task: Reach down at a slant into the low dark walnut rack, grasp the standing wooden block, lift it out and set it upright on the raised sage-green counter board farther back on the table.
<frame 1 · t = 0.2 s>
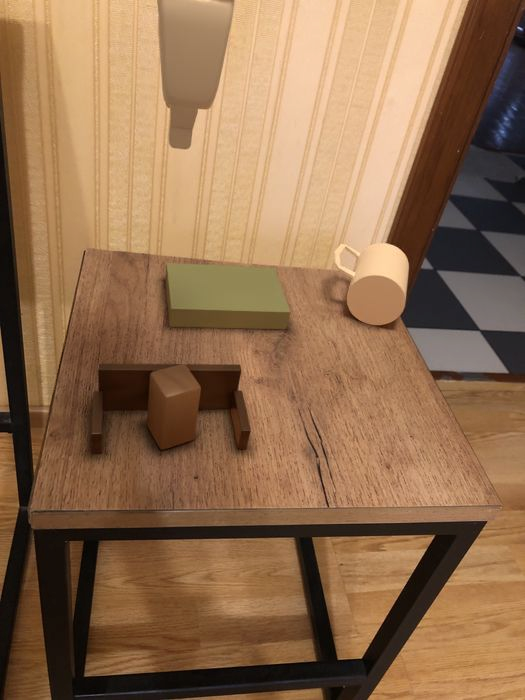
hand: (176, 124, 52), 29 cm above the table, tool pointing down, fingers open, 8 cm apart
counter board: (224, 304, 82), on the table
cup: (364, 294, 82), point 5 cm above the table
wooden block: (170, 434, 62), on the table
walnut rack: (170, 433, 62), on the table
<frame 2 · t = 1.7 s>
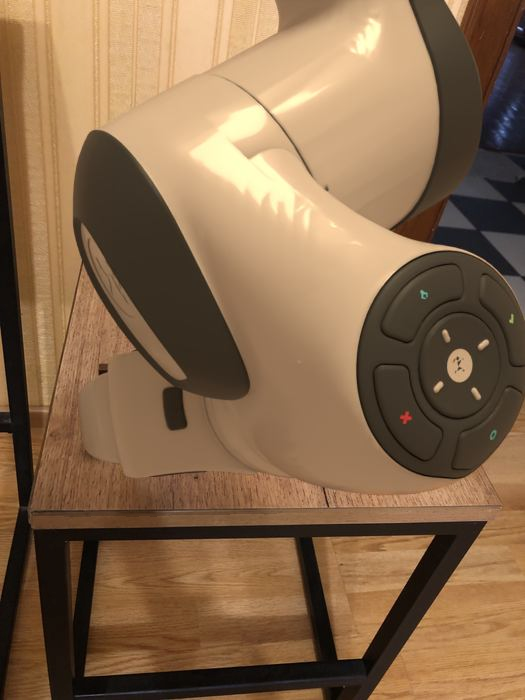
hand: (212, 401, 45), 16 cm above the table, tool tilted 45°, fingers open, 8 cm apart
nothing on the table moved.
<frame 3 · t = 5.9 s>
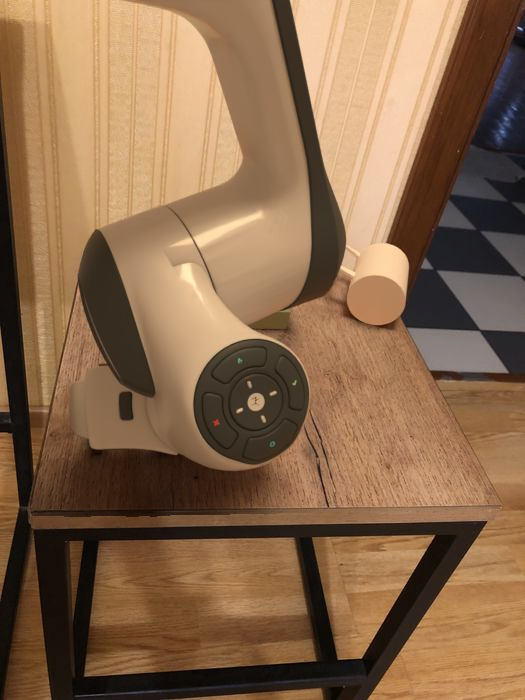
hand: (171, 400, 60), 4 cm above the table, tool tilted 45°, fingers closed on wooden block, 4 cm apart
wooden block: (170, 434, 62), on the table, touching gripper
everything else where it was.
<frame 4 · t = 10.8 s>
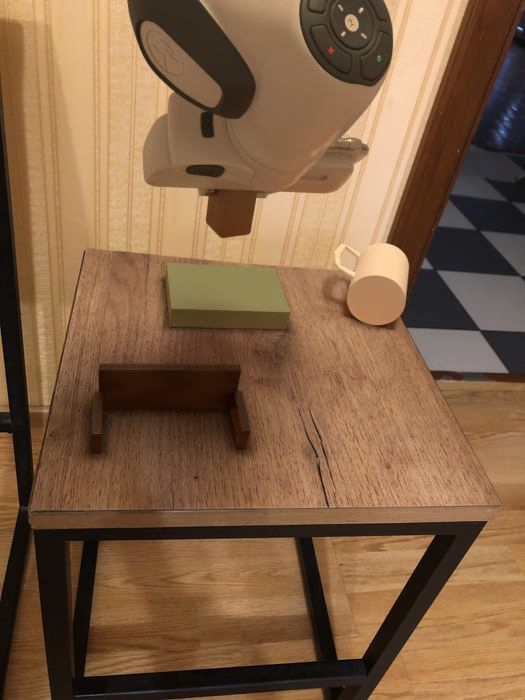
hand: (231, 190, 63), 20 cm above the table, tool tilted 45°, fingers closed on wooden block, 4 cm apart
wooden block: (227, 230, 66), point 16 cm above the table, touching gripper
everything else where it was.
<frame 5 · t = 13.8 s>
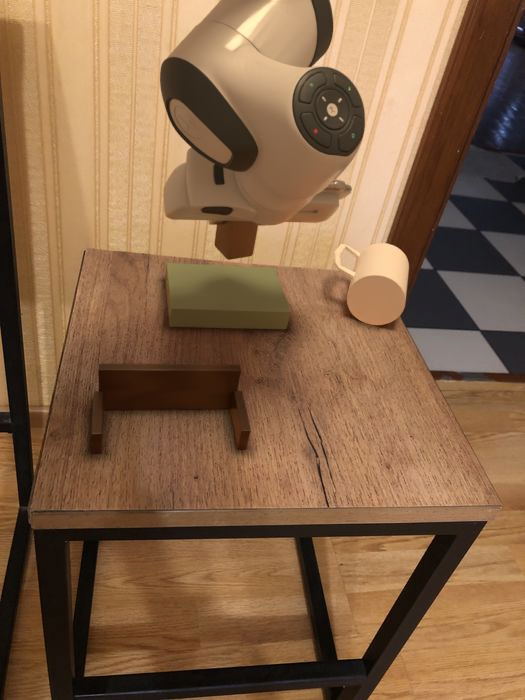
hand: (236, 219, 75), 13 cm above the table, tool tilted 45°, fingers closed on wooden block, 4 cm apart
wooden block: (233, 252, 77), point 8 cm above the table, touching gripper
everything else where it was.
when the fingers open (7 cm above the table, at t = 15.8 s): wooden block stays where it is, resting on counter board.
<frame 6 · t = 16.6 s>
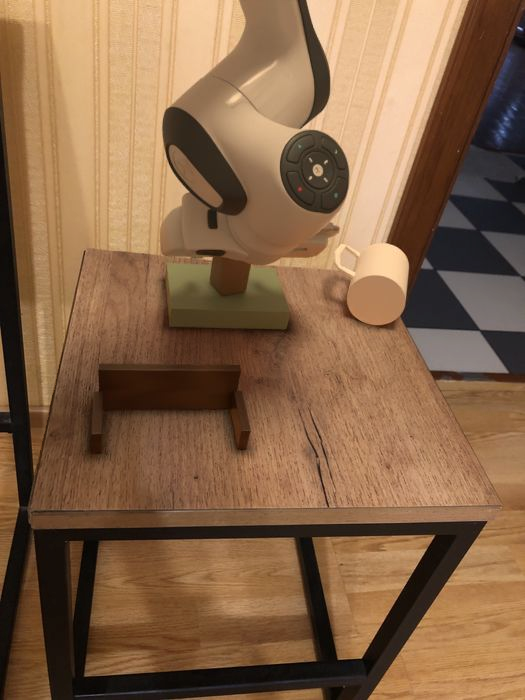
hand: (230, 253, 78), 8 cm above the table, tool tilted 45°, fingers open, 8 cm apart
wooden block: (227, 288, 80), point 3 cm above the table, touching counter board
everything else where it was.
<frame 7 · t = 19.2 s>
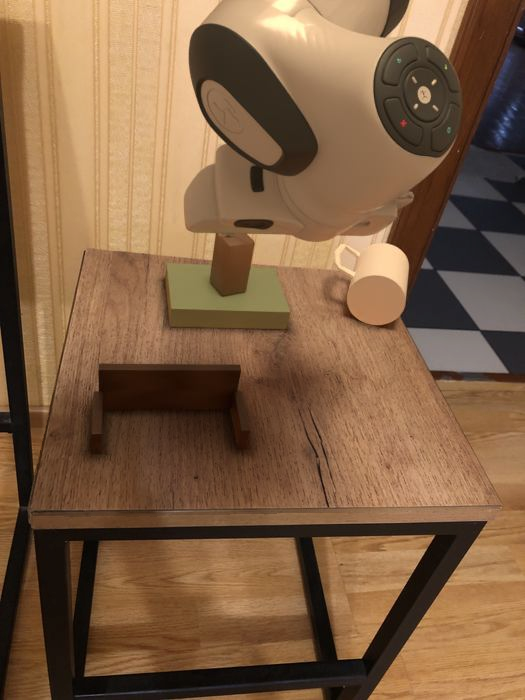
hand: (267, 231, 63), 18 cm above the table, tool tilted 45°, fingers open, 8 cm apart
nothing on the table moved.
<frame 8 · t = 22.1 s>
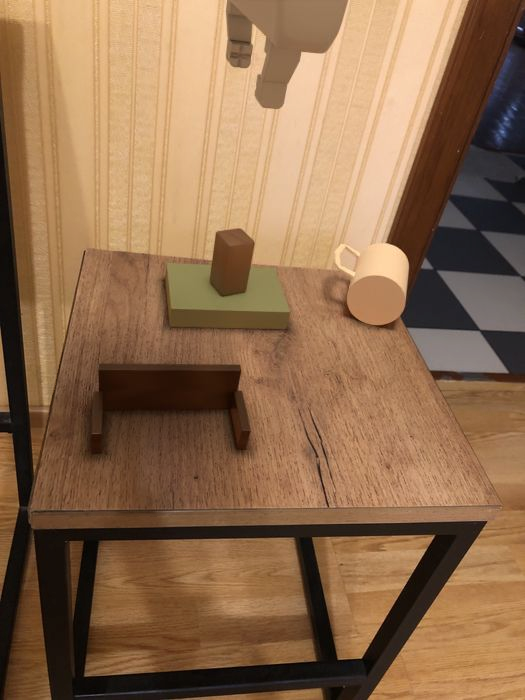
hand: (251, 83, 44), 35 cm above the table, tool pointing down, fingers open, 8 cm apart
nothing on the table moved.
at the end: wooden block inside the target area on the counter board (0.1 cm from its centre), point 2.8 cm above the counter board's base; wooden block tilted 0°; the gripper is holding nothing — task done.
